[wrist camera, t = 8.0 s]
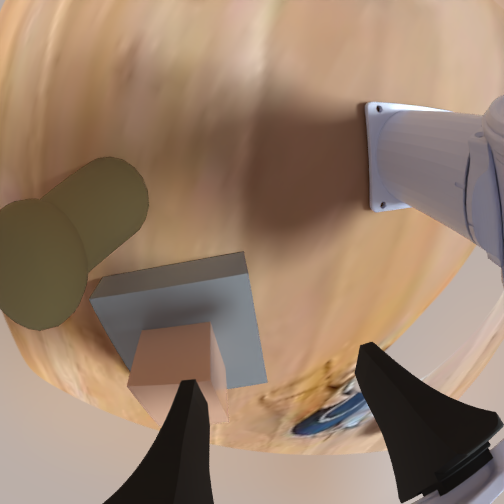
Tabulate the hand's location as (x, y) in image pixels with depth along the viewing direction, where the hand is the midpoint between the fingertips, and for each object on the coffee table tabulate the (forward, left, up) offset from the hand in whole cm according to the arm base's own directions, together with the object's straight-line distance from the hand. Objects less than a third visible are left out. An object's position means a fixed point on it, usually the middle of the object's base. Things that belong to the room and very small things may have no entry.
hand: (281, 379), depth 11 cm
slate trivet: (+6, +4, -10) cm, 12 cm away
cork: (+9, -7, -10) cm, 15 cm away
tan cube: (+6, +4, -7) cm, 10 cm away
